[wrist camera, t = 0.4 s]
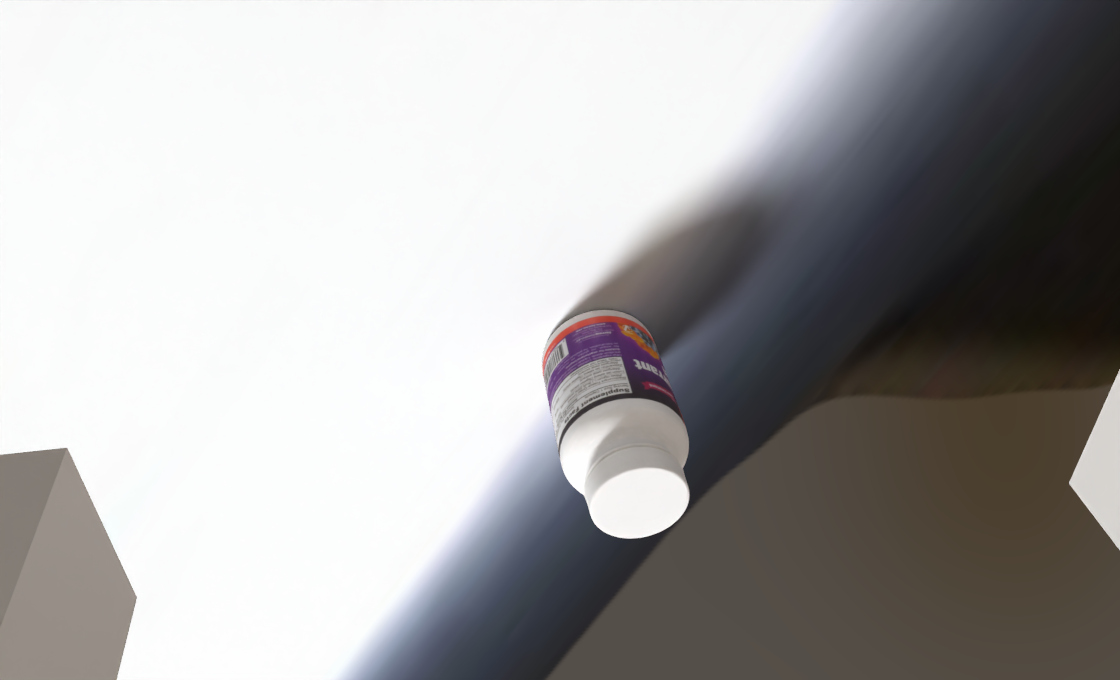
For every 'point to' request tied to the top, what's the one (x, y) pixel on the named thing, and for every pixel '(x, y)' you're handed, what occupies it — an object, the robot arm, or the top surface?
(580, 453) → the pill bottle
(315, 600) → the top surface
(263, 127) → the top surface
